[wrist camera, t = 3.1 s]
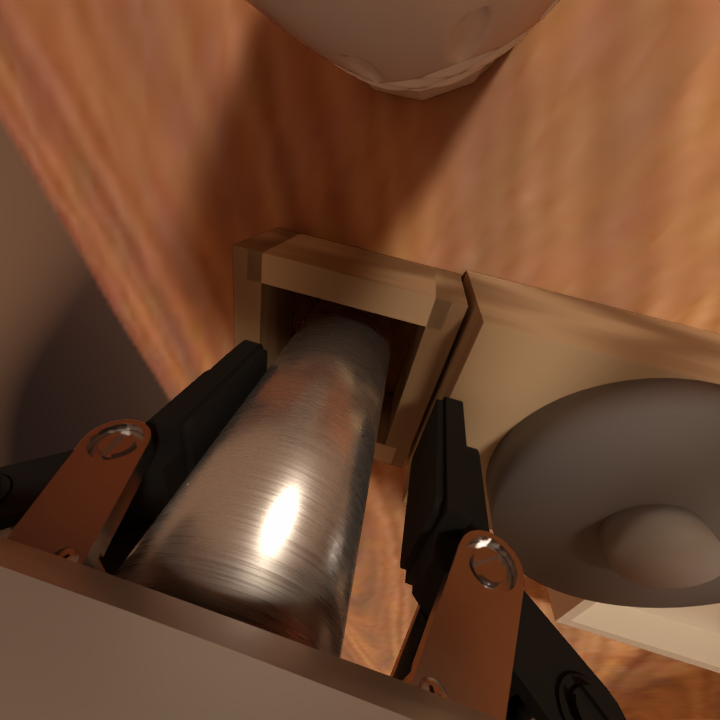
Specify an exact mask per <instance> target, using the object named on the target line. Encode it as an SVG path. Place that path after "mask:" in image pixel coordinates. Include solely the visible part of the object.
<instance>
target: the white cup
mask: <svg viewBox="0 0 720 720" xmlns="http://www.w3.org/2000/svg"><path fill="white" fill-rule="evenodd" d="M245 1H247V2H248V3H249V4H250V5H252V6H253V7H254V8H256V9H257V10H258V11H260V12H261V13H262V14H264V15H265V16H266V17H268V18H269V19H270V20H271V21H273V22H274V23H275V24H277V25H278V26H279V27H281V28H282V29H283V30H284V31H286V32H287V33H288V34H290V35H291V36H292V37H294V38H295V39H296V40H298V41H299V42H301V43H302V44H304V45H305V46H306V47H308V48H309V49H311V50H312V51H314V52H316V53H317V54H319V55H320V56H322V57H323V58H325V59H327V60H328V61H330V62H331V63H333V64H334V65H335V66H337V67H338V68H340V69H341V70H343V71H344V72H346V73H347V74H349V75H351V76H353V77H355V78H357V79H359V80H362V81H364V82H366V83H367V84H368V85H369V86H370V87H372V88H373V89H374V90H375V91H379V92H384V93H388V94H393V95H398V96H402V97H407V98H411V99H416V100H421V101H423V100H426V99H429V98H431V97H434V96H437V95H440V94H443V93H446V92H448V91H451V90H454V89H457V88H460V87H463V86H465V85H468V84H471V83H473V82H474V81H475V80H476V79H477V78H478V77H480V76H481V75H482V74H483V73H484V72H485V71H486V70H487V69H488V68H489V67H490V66H491V65H492V64H493V63H494V62H495V61H496V60H497V59H498V58H499V57H500V56H501V55H503V54H504V53H506V52H507V51H508V50H510V49H511V48H512V47H514V46H515V45H516V44H517V43H518V42H519V41H521V40H522V39H523V38H524V37H525V36H526V35H527V34H528V33H529V32H530V31H531V30H532V29H533V28H534V27H535V25H536V24H537V23H538V22H540V21H541V20H542V19H543V18H544V17H545V16H546V15H547V14H548V13H549V12H550V11H551V10H552V9H553V8H554V6H555V5H556V4H557V3H558V2H559V1H560V0H245Z"/></svg>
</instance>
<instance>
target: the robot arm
mask: <svg viewBox="0 0 720 720" xmlns="http://www.w3.org/2000/svg"><path fill="white" fill-rule="evenodd" d="M266 371H267V350H265V349H263V345H262V344H260V343H256V342H253V341H249V340H243V341H242V342H241V343H240V344H238V345H237V346H236V347H235V348H234V349H233V350H232V351H230V352H229V353H228V354H227V355H226V356H225V357H224V358H222V359H221V360H220V361H219V362H218V363H217V364H216V365H214V366H213V367H212V368H211V369H210V370H208V371H206V372H204V373H203V374H202V375H201V376H199V377H198V378H197V379H196V380H195V381H194V382H192V383H191V384H190V385H189V386H188V387H187V388H185V389H184V390H183V391H182V392H181V393H180V394H179V395H177V396H176V397H175V398H174V399H173V400H172V401H170V402H169V403H168V404H167V405H166V406H165V407H164V408H162V409H161V410H160V411H159V412H158V413H157V414H156V415H154V416H153V417H152V418H151V419H150V420H149V421H147V422H146V423H142V422H140V421H136V420H130V419H129V420H118V421H113V422H109V423H106V424H104V425H102V426H99V427H97V428H96V429H94V430H93V431H91V432H89V433H88V434H87V435H86V436H85V437H84V438H83V439H82V441H81V442H80V443H79V444H78V446H77V447H76V448H75V449H74V450H71V451H67V452H62V453H58V454H55V455H50V456H46V457H42V458H38V459H33V460H29V461H25V462H21V463H17V464H13V465H8V466H5V467H0V720H626V718H625V716H624V715H623V713H622V711H621V709H620V707H619V705H618V703H617V702H616V701H615V699H614V698H613V696H612V695H611V694H610V692H609V691H608V690H607V688H606V687H605V686H604V685H603V683H602V682H601V681H600V680H599V679H598V677H597V676H596V675H595V674H594V673H593V672H592V670H591V669H590V668H589V667H588V666H587V664H586V663H585V662H584V661H583V660H582V659H581V657H580V656H579V655H578V654H577V653H576V651H575V650H574V649H573V648H572V647H571V646H570V644H569V643H568V642H567V641H566V640H565V638H564V637H563V636H562V635H561V634H560V633H559V631H558V630H557V629H556V628H555V627H554V625H553V624H552V623H551V622H550V621H549V619H548V618H547V617H546V616H545V615H544V614H543V612H542V611H541V610H540V609H539V608H538V606H537V605H536V604H535V603H534V602H533V601H532V599H531V598H530V597H529V596H528V595H527V593H526V592H525V591H524V585H525V582H524V572H523V568H522V565H521V562H520V561H519V559H518V557H517V556H516V554H515V552H514V551H513V550H512V549H511V548H510V546H509V545H508V544H507V543H506V542H504V541H503V540H502V539H501V538H499V537H498V536H496V535H494V534H492V533H490V532H489V524H488V517H487V509H486V501H485V493H484V485H483V477H482V469H481V461H480V455H479V451H478V450H477V449H475V448H472V447H468V446H467V443H466V432H465V420H464V408H463V402H462V401H459V400H456V399H452V398H449V397H444V398H443V400H439V399H437V400H436V402H435V404H434V406H433V409H432V411H431V414H430V416H429V418H428V421H427V423H426V426H425V428H424V430H423V433H422V435H421V438H420V440H419V442H418V445H417V447H416V450H415V452H414V454H413V458H412V462H411V468H410V477H409V487H408V496H407V505H406V514H405V524H404V533H403V542H402V552H401V561H400V567H401V568H402V569H405V570H406V579H405V583H407V584H410V585H413V588H412V594H413V596H414V597H415V599H416V601H417V602H418V606H417V609H416V611H415V614H414V616H413V619H412V621H411V624H410V627H409V629H408V632H407V634H406V637H405V639H404V642H403V644H402V647H401V649H400V652H399V654H398V657H397V659H396V662H395V665H394V667H393V670H392V672H391V675H390V676H388V675H385V674H382V673H380V672H377V671H374V670H371V669H369V668H366V667H363V666H361V665H358V664H355V663H352V662H350V661H347V660H344V659H342V658H339V657H336V656H333V655H331V654H328V653H325V652H323V651H320V650H317V649H315V648H312V647H309V646H306V645H304V644H301V643H298V642H296V641H293V640H290V639H287V638H285V637H282V636H279V635H276V634H274V633H271V632H268V631H265V630H263V629H260V628H257V627H254V626H252V625H249V624H246V623H243V622H241V621H238V620H235V619H232V618H230V617H227V616H224V615H221V614H219V613H216V612H213V611H210V610H208V609H205V608H202V607H199V606H197V605H194V604H191V603H188V602H186V601H183V600H180V599H177V598H175V597H172V596H169V595H166V594H164V593H161V592H158V591H155V590H152V589H150V588H147V587H144V586H141V585H138V584H136V583H133V582H130V581H127V580H124V579H122V578H119V577H116V576H114V575H115V573H116V572H117V571H118V569H119V568H120V567H121V565H122V564H123V563H124V561H125V560H126V559H127V557H128V556H129V555H130V553H131V552H132V550H133V549H134V548H135V546H136V545H137V544H138V542H139V541H140V540H141V538H142V537H143V536H144V534H145V533H146V532H147V530H148V529H149V528H150V526H151V525H152V524H153V522H154V521H155V520H156V518H157V517H158V516H159V514H160V513H161V512H162V510H163V509H164V508H165V506H166V505H167V504H168V502H169V501H170V500H171V498H172V497H173V496H174V494H175V493H176V492H177V490H178V489H179V488H180V486H181V485H182V484H183V482H184V481H185V480H186V478H187V477H188V476H189V474H190V473H191V472H192V470H193V469H194V468H195V466H196V465H197V464H198V462H199V461H200V460H201V458H202V457H203V456H204V454H205V453H206V452H207V450H208V449H209V448H210V446H211V445H212V444H213V442H214V441H215V440H216V438H217V437H218V435H219V434H220V433H221V431H222V430H223V429H224V427H225V426H226V425H227V423H228V422H229V421H230V419H231V418H232V417H233V415H234V414H235V413H236V411H237V410H238V409H239V407H240V406H241V405H242V403H243V402H244V401H245V399H246V398H247V397H248V395H249V394H250V393H251V391H252V390H253V389H254V387H255V386H256V385H257V383H258V382H259V381H260V379H261V378H262V377H263V375H264V374H265V373H266Z"/></svg>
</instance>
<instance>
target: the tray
mask: <svg viewBox="0 0 720 720" xmlns="http://www.w3.org/2000/svg"><path fill="white" fill-rule="evenodd" d="M546 588H547V592H548V596H549V600H550V603H551V607H552V611H553V615H554V618H555V621H556V622H559V623H562V624H565V625H568V626H571V627H575V628H578V629H581V630H584V631H587V632H590V633H594V634H597V635H600V636H603V637H606V638H609V639H613V640H616V641H619V642H622V643H625V644H628V645H631V646H635V647H638V648H641V649H644V650H647V651H650V652H654V653H657V654H660V655H663V656H666V657H669V658H673V659H676V660H679V661H682V662H685V663H688V664H692V665H695V666H698V667H701V668H704V669H707V670H711V671H714V672H717V673H720V603H717V604H710V605H703V606H692V607H680V608H640V607H628V606H618V605H611V604H604V603H599V602H594V601H589V600H585V599H581V598H577V597H574V596H570V595H567V594H564V593H561V592H558V591H556V590H553V589H551V588H549V587H546Z"/></svg>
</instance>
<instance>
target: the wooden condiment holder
mask: <svg viewBox="0 0 720 720" xmlns="http://www.w3.org/2000/svg"><path fill="white" fill-rule="evenodd" d="M232 248H233V300H234V348H235V347H236V346H237V345H238V344H240V343H241V342H242V341H243V340H249V341H253V342H256V343H260V344H262V345H263V349H265V350H267V370H268V369H269V367H270V366H271V365H272V363H273V362H274V361H275V359H276V358H277V357H278V355H279V354H280V353H281V351H282V350H283V349H284V347H285V346H286V345H287V343H288V342H289V341H290V339H291V336H292V325H293V314H294V303H295V292H297V293H301V294H305V295H309V296H312V297H316V298H320V299H324V300H327V301H331V302H335V303H339V304H342V305H346V306H350V307H354V308H357V309H361V310H365V311H369V312H372V313H376V314H380V315H384V316H387V317H391V318H395V319H399V320H402V321H406V322H410V323H414V324H417V325H416V328H415V332H414V335H413V338H412V341H411V344H410V347H409V350H408V353H407V356H406V359H405V362H404V365H403V368H402V371H401V374H400V377H399V381H398V384H397V387H396V390H395V393H394V395H392V394H389V393H385V392H384V398H383V404H382V410H381V416H380V422H379V428H378V434H377V440H376V446H375V452H374V458H373V459H374V460H378V461H381V462H384V463H388V464H391V465H395V466H398V467H401V468H402V466H403V464H404V462H405V459H406V457H407V459H406V470H405V480H404V491H403V503H406V504H407V496H408V487H409V477H410V468H411V462H412V458H413V454H414V452H415V450H416V447H417V445H418V442H419V440H420V438H421V435H422V433H423V430H424V428H425V426H426V423H427V421H428V418H429V416H430V414H431V411H432V409H433V406H434V404H435V402H436V400H437V399H439V400H443V398H444V397H449V398H452V399H456V400H459V401H462V402H463V408H464V420H465V432H466V443H467V446H468V447H472V448H475V449H477V450H478V451H479V455H480V461H481V469H482V477H483V485H484V493H485V501H486V509H487V517H488V524H489V529H492V530H493V532H494V535H496V536H498V537H499V538H501V539H502V540H503V541H504V542H506V543H507V544H508V545H509V546H510V548H511V549H512V550H513V551H514V552H515V554H516V556H517V557H518V559H519V561H520V562H521V565H522V568H523V572H524V574H525V575H526V576H528V577H529V578H531V579H533V580H535V581H536V582H538V583H540V584H542V585H544V586H546V587H549V588H551V589H553V590H556V591H558V592H561V593H564V594H567V595H570V596H574V597H577V598H581V599H585V600H589V601H594V602H599V603H604V604H611V605H618V606H628V607H640V608H680V607H692V606H703V605H710V604H717V603H720V334H716V333H712V332H708V331H704V330H700V329H696V328H693V327H689V326H685V325H681V324H677V323H673V322H669V321H665V320H661V319H657V318H653V317H649V316H645V315H641V314H637V313H633V312H629V311H625V310H621V309H618V308H614V307H610V306H606V305H602V304H598V303H594V302H590V301H586V300H582V299H578V298H574V297H570V296H566V295H562V294H558V293H554V292H550V291H546V290H543V289H539V288H535V287H531V286H527V285H523V284H519V283H515V282H511V281H507V280H503V279H499V278H495V277H491V276H487V275H483V274H479V273H475V272H471V271H468V270H467V272H466V274H465V277H464V280H463V282H462V280H461V276H460V274H458V273H454V272H450V271H446V270H442V269H438V268H434V267H431V266H427V265H423V264H419V263H415V262H411V261H407V260H403V259H399V258H395V257H391V256H387V255H383V254H379V253H376V252H372V251H368V250H364V249H360V248H356V247H352V246H348V245H344V244H340V243H336V242H332V241H328V240H324V239H320V238H317V237H313V236H309V235H305V234H301V233H297V232H293V231H289V230H285V229H281V228H275V229H273V230H270V231H267V232H265V233H262V234H260V235H257V236H254V237H252V238H249V239H247V240H244V241H242V242H239V243H236V244H234V245H232Z"/></svg>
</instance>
